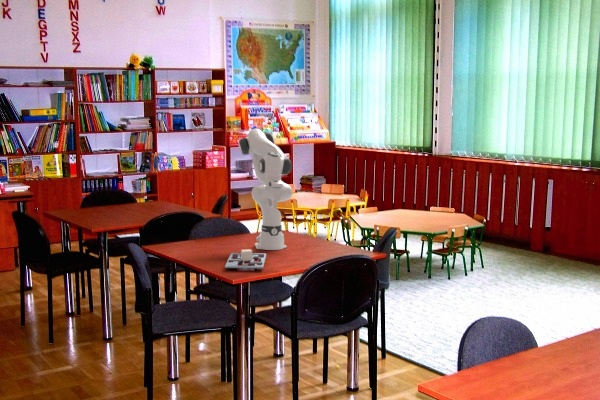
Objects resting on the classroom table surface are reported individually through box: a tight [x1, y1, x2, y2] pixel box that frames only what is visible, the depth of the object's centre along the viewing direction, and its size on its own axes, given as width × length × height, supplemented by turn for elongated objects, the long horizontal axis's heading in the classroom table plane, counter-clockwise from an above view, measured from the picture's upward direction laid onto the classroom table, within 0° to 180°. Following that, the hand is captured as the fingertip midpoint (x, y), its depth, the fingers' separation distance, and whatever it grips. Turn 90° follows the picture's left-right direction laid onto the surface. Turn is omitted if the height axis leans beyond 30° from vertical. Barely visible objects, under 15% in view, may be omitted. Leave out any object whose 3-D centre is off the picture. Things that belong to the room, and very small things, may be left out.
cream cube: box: [240, 248, 253, 261], centre depth 387 cm, size 5×5×5 cm
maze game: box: [224, 252, 267, 272], centre depth 388 cm, size 35×20×3 cm, turn 0°
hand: (272, 207), depth 398 cm, fingers open, 8 cm apart
